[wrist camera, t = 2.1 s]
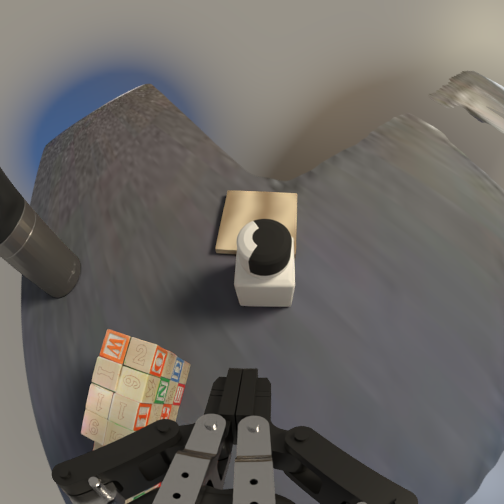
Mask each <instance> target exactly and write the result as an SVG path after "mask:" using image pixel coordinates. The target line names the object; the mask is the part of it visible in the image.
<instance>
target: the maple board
mask: <svg viewBox="0 0 504 504" xmlns="http://www.w3.org/2000/svg"><path fill="white" fill-rule="evenodd" d="M258 219H272V220H275V221H278V222H280V223H281V224H283V225H284V226H285V227H286V228H287V229H288V230H289V232H290V234H291V236H292V237H293V240H294V258H295V255H296V225H297V194H296V193H278V192H257V191H228V192H227V197H226V201H225V206H224V210H223V215H222V219H221V224H220V229H219V233H218V238H217V243H216V248H215V250H216V253H223V254H237V242H236V241H237V236H238V234H239V232H240V230H241V229H242V228H243V227H244V226H245V225H246V224H248V223H249V222H251V221H254V220H258Z"/></svg>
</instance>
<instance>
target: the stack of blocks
mask: <svg viewBox="0 0 504 504" xmlns="http://www.w3.org/2000/svg"><path fill="white" fill-rule="evenodd" d="M189 369H190V364H189V363H187V362H186V361H183V360H182V359H180V358H179V357H177V356H176V355H175V354H173V353H172V352H170V351H168V350H165V349H163V348H161V347H160V346H158V345H156V344H153V343H149V342H146V341H143V340H140V339H137V338H134V337H130V336H127V335H124V334H121V333H119V332H116V331H113V330H109V329H107V332H106V335H105V338H104V342H103V345H102V348H101V351H100V356H99V357H98V358H97V361H96V365H95V369H94V373H93V377H92V383H91V385H90V388H89V393H88V397H87V402H86V410H85V413H84V418H83V424H82V430H81V434H82V435H84V436H86V437H88V438H90V439H91V440H93V441H94V447H93V450H96V449H98V448H100V447H103V446H105V445H107V444H110V443H112V442H114V441H116V440H118V439H121V438H123V437H125V436H127V435H129V434H131V433H133V432H135V431H137V430H139V429H141V428H143V427H145V426H147V425H149V424H151V423H153V422H155V421H157V420H160V419H170V420H173V421H176V417H177V413H178V409H179V405H180V403H181V399H182V395H183V391H184V387H185V384H186V380H187V376H188V373H189ZM160 486H161V482H160V483H158V484H157V485H155V486H153V487H151V488H149V489H147V490H145V491H143V492H141V493H139V494H137V495H135V496H133V497H131V498H129V499H127V500H125V504H127V503H129V502H131V501H133V500H134V499H136V498H138V497H140V496H142V495H144V494H145V493H147V492H149V491H151V490H153V489H155V488H157V487H160Z"/></svg>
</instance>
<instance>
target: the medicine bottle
mask: <svg viewBox="0 0 504 504" xmlns="http://www.w3.org/2000/svg"><path fill="white" fill-rule="evenodd" d="M236 242H237V254H236V266H235V278H234V286H235V290H236V293H237V297H238V300H239V304H240V305H241V306H271V307H289V306H291V303H292V298H293V293H294V287H295V268H294V240H293V237H292V236H291V234H290V232H289V230H288V229H287V228H286V227H285V226H284V225H283V224H281V223H280V222H278V221H275V220H272V219H258V220H254V221H251V222H249V223H248V224H246V225H245V226H244V227H243V228H242V229H241V230H240V232H239V234H238V236H237V241H236Z"/></svg>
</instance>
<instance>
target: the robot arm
mask: <svg viewBox="0 0 504 504" xmlns="http://www.w3.org/2000/svg"><path fill="white" fill-rule="evenodd" d="M0 257H2V258H3V259H4V260H5V261H7V262H8V263H9V264H10V265H11V266H13V267H14V268H15V269H16V270H17V271H19V272H20V273H21V274H22V275H24V276H25V277H26V278H28V279H29V280H30V281H31V282H33V283H34V284H35V285H37V286H38V287H39V288H41V289H42V290H44V291H45V292H46V293H48V294H49V295H51V296H52V297H55V298H60V297H63V296H65V295H67V294H68V293H69V292H70V291H71V290H72V289H73V288H74V286H75V285H76V283H77V281H78V279H79V275H80V270H81V265H80V261H79V259H78V257H77V256H76V255H75V254H74V253H73V252H72V251H71V250H70V249H69V248H68V247H67V246H66V245H65V244H64V243H63V242H62V241H61V240H60V239H59V238H58V236H57V235H56V234H55V233H54V232H53V231H52V230H51V229H50V228H49V227H48V226H47V225H46V223H45V222H44V221H43V220H42V219H41V218H40V217H39V216H38V214H37V213H36V212H35V211H34V210H33V209H32V207H31V206H30V205H29V204H28V203H27V202H26V200H25V199H24V198H23V197H22V195H21V194H20V193H19V192H18V191H17V189H16V188H15V187H14V186H13V184H12V183H11V182H10V180H9V179H8V178H7V176H6V175H5V173H4V172H3V171H2V169H1V168H0ZM233 444H236V445H237V457H236V458H235V468H234V488H233V489H225V490H223V485H224V481H225V477H226V474H227V470H228V467H229V463H230V460H231V451H232V446H233ZM273 468H275V469H279V470H283V471H284V473H285V474H286V475H287V476H288V477H289V478H290V479H291V480H292V481H294V482H295V483H296V484H297V485H298V486H299V487H300V488H302V489H303V490H304V491H305V492H306V493H308V494H309V495H310V496H311V497H313V498H314V499H315V500H316V501H318V502H319V503H320V504H418V499H417V497H416V496H415V494H414V493H412V492H410V491H408V490H407V489H405V488H403V487H401V486H399V485H397V484H396V483H394V482H392V481H390V480H389V479H387V478H385V477H384V476H382V475H380V474H379V473H377V472H375V471H374V470H372V469H370V468H369V467H367V466H366V465H364V464H362V463H361V462H359V461H358V460H356V459H355V458H353V457H352V456H350V455H349V454H347V453H346V452H344V451H343V450H341V449H340V448H338V447H337V446H335V445H334V444H332V443H331V442H330V441H328V440H327V439H325V438H324V437H323V436H321V435H320V434H318V433H317V432H316V431H314V430H313V429H311V428H309V427H305V426H298V427H294V428H292V429H290V430H289V431H287V430H283V429H279V428H277V427H276V426H274V425H273V424H272V422H271V383H270V382H269V380H268V378H258V369H239V368H229V370H228V374H227V377H219V378H218V379H217V380H216V381H215V382H214V383H213V386H212V391H211V393H210V396H209V400H208V403H207V406H206V410H205V413H204V415H203V416H201V417H200V418H198V420H197V421H196V423H194V424H190V425H183V426H178V424H177V423H176V422H175V421H173V420H170V419H160V420H157V421H155V422H153V423H151V424H149V425H147V426H145V427H143V428H141V429H139V430H137V431H135V432H133V433H131V434H129V435H127V436H125V437H123V438H121V439H118V440H116V441H114V442H112V443H110V444H107V445H105V446H103V447H100V448H98V449H96V450H93V451H91V452H88V453H86V454H83V455H81V456H78V457H76V458H73V459H71V460H68V461H65V462H62V463H60V464H58V465H56V466H55V467H54V468H53V470H52V478H53V480H54V481H55V482H56V483H57V484H58V485H59V486H60V487H61V488H62V490H63V491H64V492H65V493H66V494H67V495H68V496H69V497H70V499H71V501H72V503H73V504H125V500H127V499H129V498H131V497H133V496H135V495H137V494H139V493H141V492H143V491H145V490H147V489H149V488H151V487H153V486H155V485H157V484H158V483H160V482H162V481H163V482H162V484H161V486H160V487H157V488H155V489H153V490H151V491H149V492H147V493H145V494H144V495H142V496H140V497H138V498H136V499H134V500H133V501H131V502H129V503H127V504H295V503H294V502H292V501H291V500H289V499H287V498H286V497H283V496H281V495H278V494H275V489H274V475H273Z"/></svg>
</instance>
